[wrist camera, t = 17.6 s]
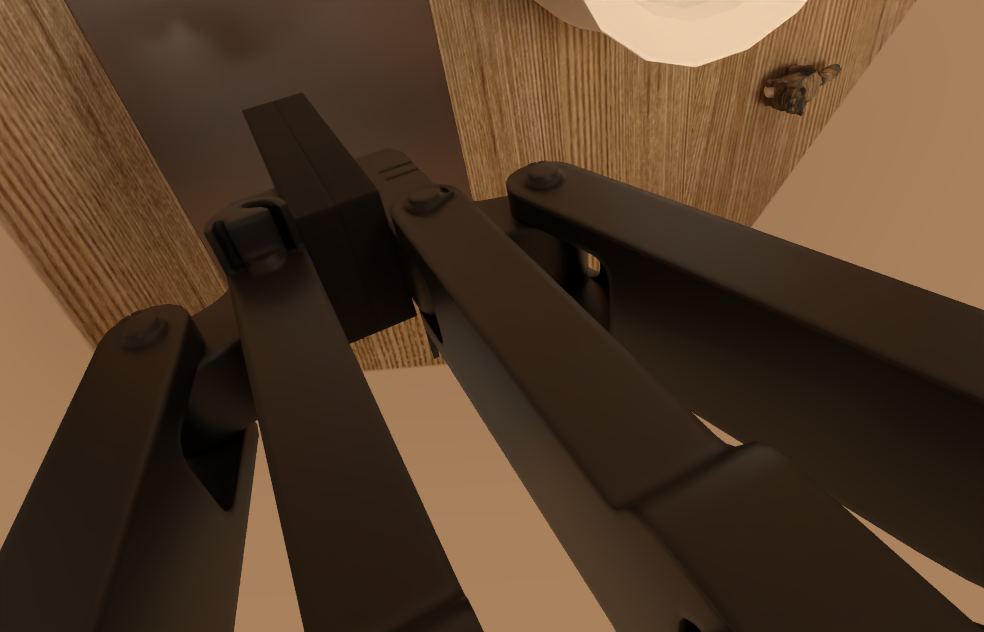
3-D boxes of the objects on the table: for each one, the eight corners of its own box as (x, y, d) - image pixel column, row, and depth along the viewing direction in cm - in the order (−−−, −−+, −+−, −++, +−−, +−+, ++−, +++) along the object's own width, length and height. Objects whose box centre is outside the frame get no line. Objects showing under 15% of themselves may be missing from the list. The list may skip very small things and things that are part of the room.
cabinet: (416, 157, 39) (477, 217, 32) (222, 229, 36) (242, 312, 29) (340, -116, 30) (403, -117, 23) (73, -49, 27) (48, -27, 20)
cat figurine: (749, 80, 47) (798, 89, 44) (809, 46, 50) (859, 52, 47) (746, 115, 49) (793, 126, 46) (804, 80, 52) (852, 88, 49)
